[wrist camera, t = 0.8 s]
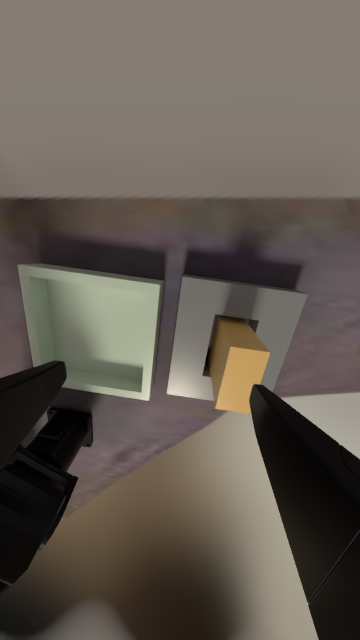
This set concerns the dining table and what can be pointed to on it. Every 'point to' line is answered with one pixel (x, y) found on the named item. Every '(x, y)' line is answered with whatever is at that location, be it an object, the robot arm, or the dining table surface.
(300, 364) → the dining table surface
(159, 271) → the dining table surface
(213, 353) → the tan rectangular block
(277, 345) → the grey slotted plate
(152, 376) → the parts tray
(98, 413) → the dining table surface
